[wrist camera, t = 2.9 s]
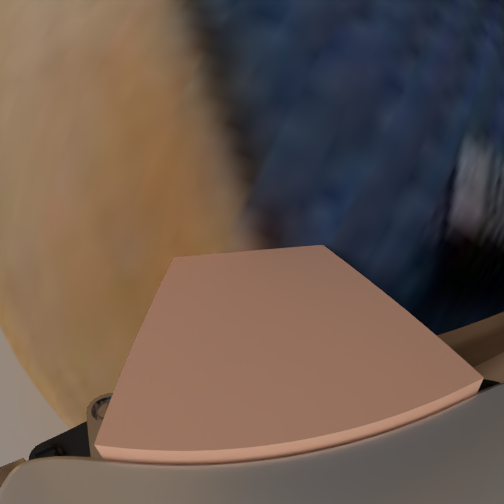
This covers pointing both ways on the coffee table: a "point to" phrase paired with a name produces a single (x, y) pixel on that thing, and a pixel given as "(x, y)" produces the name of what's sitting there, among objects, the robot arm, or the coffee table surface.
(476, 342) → the walnut block
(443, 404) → the terracotta block
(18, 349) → the coffee table surface
